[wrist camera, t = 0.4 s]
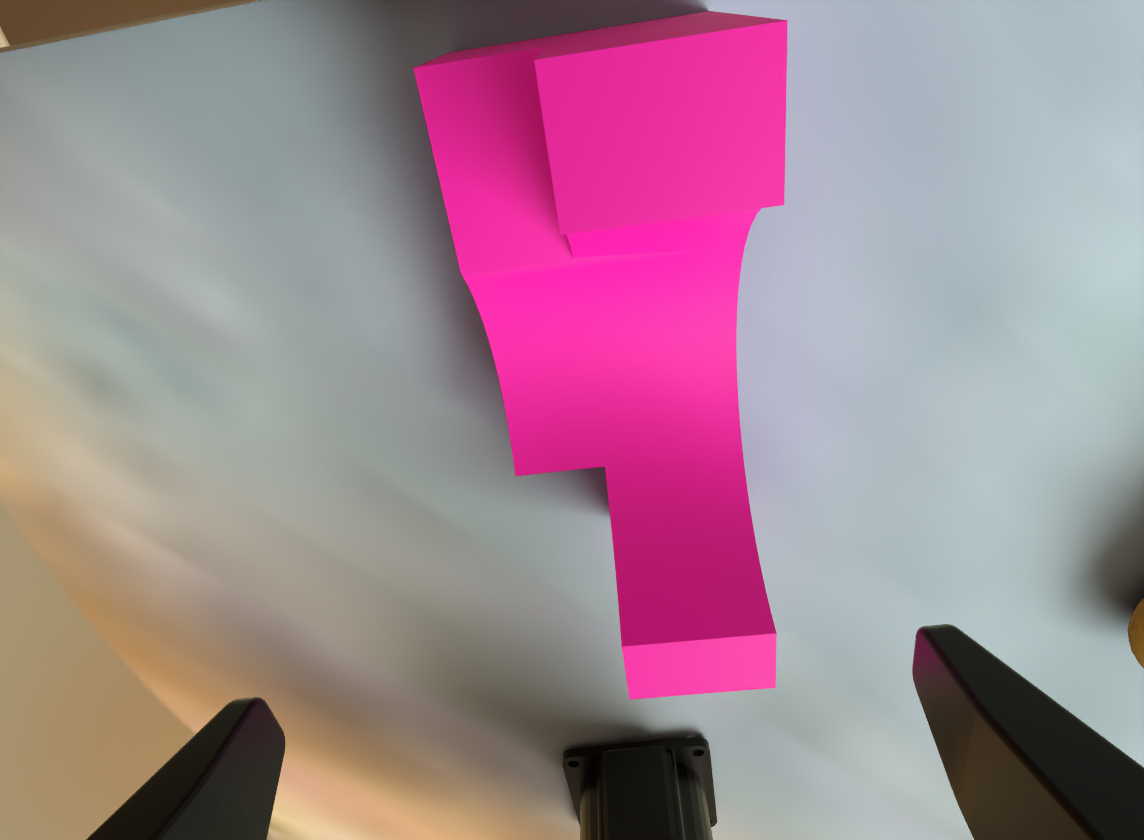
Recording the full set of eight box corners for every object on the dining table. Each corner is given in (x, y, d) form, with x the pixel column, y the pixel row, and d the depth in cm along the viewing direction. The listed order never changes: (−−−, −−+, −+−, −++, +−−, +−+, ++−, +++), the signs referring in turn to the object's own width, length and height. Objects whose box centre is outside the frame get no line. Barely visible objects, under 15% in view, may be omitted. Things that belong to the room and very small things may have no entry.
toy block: (451, 51, 17) (372, 85, 11) (707, 10, 17) (787, 20, 10) (546, 523, 25) (535, 706, 18) (724, 505, 24) (775, 687, 18)
